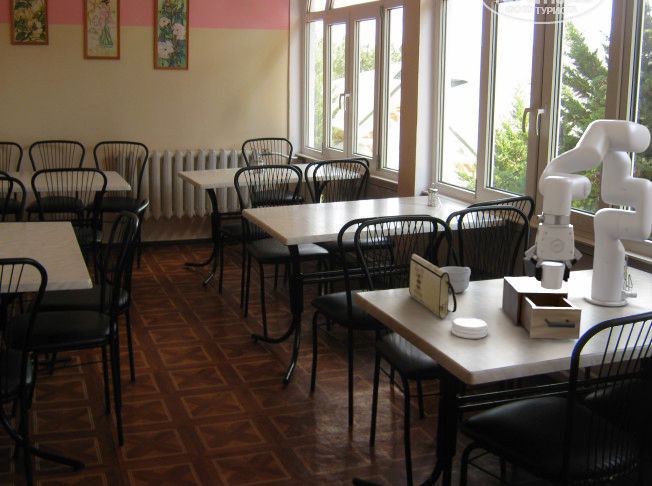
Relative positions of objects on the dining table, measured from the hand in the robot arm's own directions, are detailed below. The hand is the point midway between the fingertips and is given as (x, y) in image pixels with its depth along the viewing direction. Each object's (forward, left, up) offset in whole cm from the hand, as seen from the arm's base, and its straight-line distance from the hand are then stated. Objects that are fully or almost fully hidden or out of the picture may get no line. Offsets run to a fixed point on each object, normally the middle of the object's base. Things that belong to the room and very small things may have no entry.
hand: (551, 280), depth 212 cm
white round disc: (+23, +2, -16) cm, 28 cm away
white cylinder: (0, 0, -2) cm, 2 cm away
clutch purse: (+30, -24, -16) cm, 42 cm away
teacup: (+18, -45, -16) cm, 51 cm away
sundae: (-10, -53, -16) cm, 56 cm away
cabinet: (0, -15, -16) cm, 22 cm away
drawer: (0, +1, -15) cm, 15 cm away
